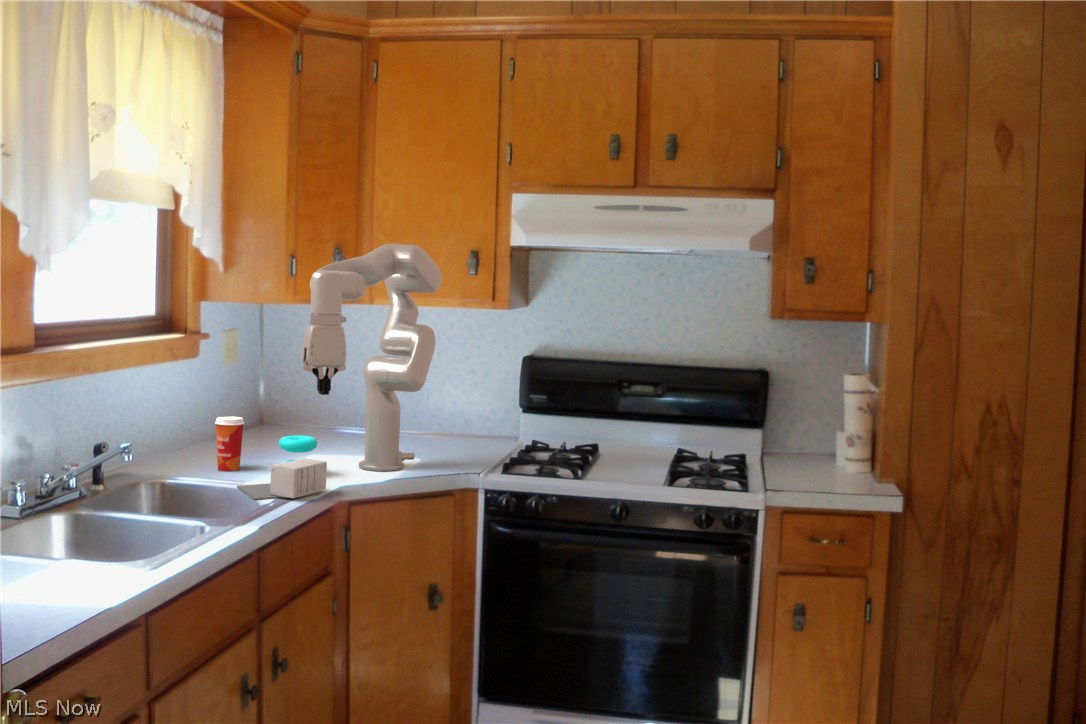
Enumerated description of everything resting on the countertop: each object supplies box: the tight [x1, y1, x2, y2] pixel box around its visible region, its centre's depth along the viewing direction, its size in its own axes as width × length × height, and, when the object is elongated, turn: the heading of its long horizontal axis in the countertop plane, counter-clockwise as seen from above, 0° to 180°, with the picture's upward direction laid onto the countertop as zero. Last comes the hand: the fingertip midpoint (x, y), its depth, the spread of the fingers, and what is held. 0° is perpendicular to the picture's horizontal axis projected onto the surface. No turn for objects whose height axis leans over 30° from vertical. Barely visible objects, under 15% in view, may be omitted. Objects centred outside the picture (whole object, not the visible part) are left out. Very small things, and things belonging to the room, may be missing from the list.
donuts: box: [278, 434, 318, 463], centre depth 265 cm, size 10×10×10 cm
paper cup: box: [214, 415, 245, 472], centre depth 267 cm, size 8×8×14 cm
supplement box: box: [270, 457, 328, 499], centre depth 242 cm, size 7×7×13 cm
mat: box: [236, 482, 320, 501], centre depth 244 cm, size 16×15×1 cm
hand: (323, 394), depth 248 cm, fingers closed
